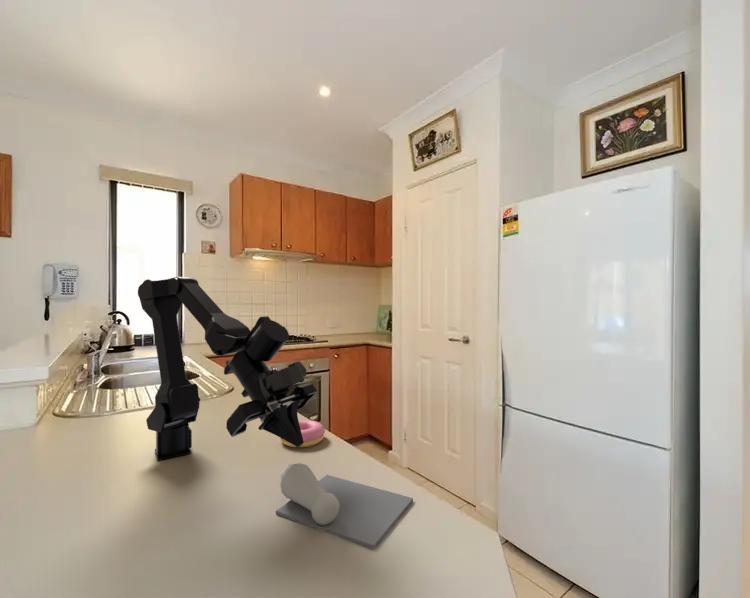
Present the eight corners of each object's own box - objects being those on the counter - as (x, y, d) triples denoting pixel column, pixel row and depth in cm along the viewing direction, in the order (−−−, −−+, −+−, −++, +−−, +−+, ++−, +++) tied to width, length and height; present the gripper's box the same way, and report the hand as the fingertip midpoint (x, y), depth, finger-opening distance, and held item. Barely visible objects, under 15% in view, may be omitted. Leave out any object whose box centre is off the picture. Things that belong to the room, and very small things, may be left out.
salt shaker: (274, 496, 65) (311, 539, 55) (275, 463, 64) (313, 501, 54) (304, 485, 68) (345, 524, 58) (306, 455, 68) (347, 488, 58)
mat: (275, 513, 61) (275, 510, 61) (326, 477, 73) (326, 474, 73) (373, 549, 52) (373, 545, 52) (412, 501, 64) (412, 498, 64)
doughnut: (309, 430, 100) (309, 414, 100) (334, 441, 92) (334, 424, 92) (271, 440, 92) (271, 423, 92) (294, 454, 84) (294, 435, 84)
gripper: (237, 356, 61) (290, 435, 56) (309, 343, 78) (355, 404, 73) (205, 398, 65) (252, 476, 60) (281, 378, 82) (322, 438, 76)
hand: (301, 445), depth 67 cm, fingers closed
